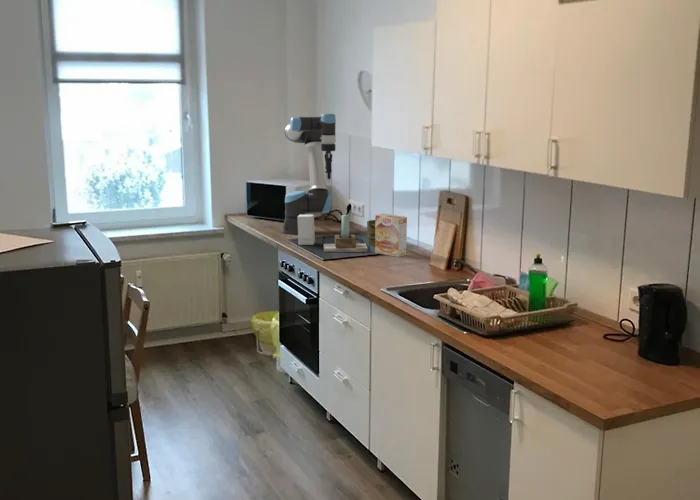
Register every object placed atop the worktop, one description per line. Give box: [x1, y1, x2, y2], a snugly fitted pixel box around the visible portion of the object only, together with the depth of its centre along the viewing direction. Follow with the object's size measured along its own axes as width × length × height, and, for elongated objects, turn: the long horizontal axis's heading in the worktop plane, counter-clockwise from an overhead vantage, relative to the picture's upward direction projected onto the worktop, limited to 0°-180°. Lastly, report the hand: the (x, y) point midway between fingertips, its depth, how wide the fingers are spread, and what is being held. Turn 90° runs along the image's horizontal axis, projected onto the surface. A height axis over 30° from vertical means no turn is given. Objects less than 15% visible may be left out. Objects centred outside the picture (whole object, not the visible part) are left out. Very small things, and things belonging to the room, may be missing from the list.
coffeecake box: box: [374, 213, 408, 258], centre depth 380 cm, size 15×7×20 cm, turn 50°
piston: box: [366, 219, 375, 246], centre depth 405 cm, size 11×12×11 cm
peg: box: [341, 214, 350, 238], centre depth 391 cm, size 4×4×16 cm
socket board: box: [323, 234, 369, 253], centre depth 392 cm, size 14×22×6 cm, turn 94°
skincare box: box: [297, 214, 316, 246], centre depth 404 cm, size 8×7×16 cm
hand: (328, 183), depth 404 cm, fingers open, 13 cm apart
